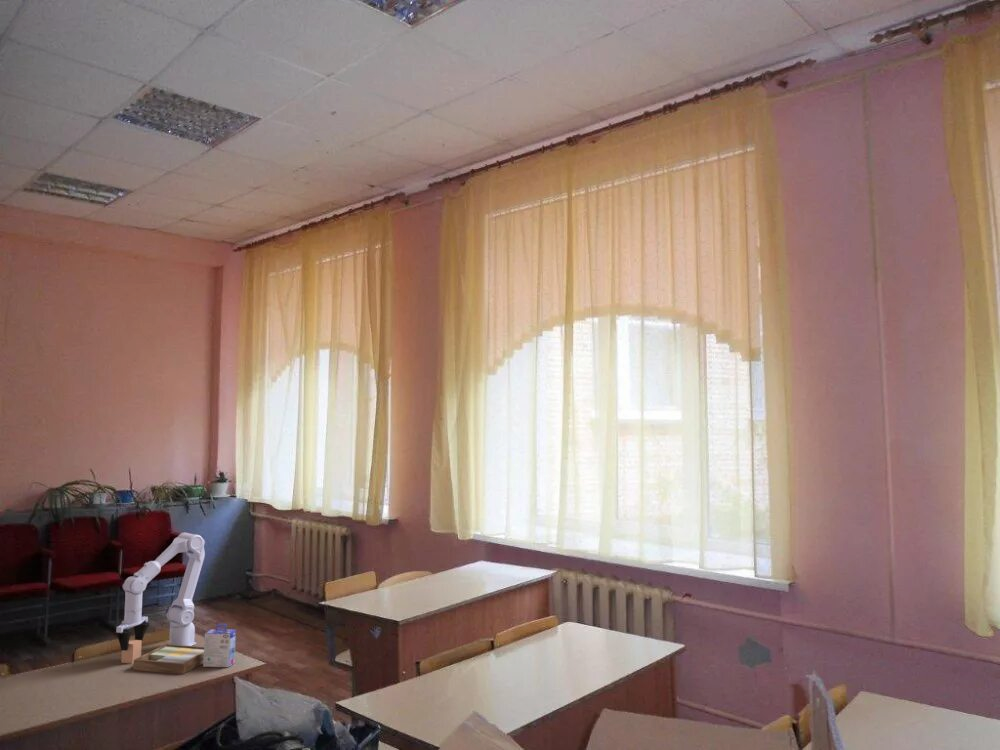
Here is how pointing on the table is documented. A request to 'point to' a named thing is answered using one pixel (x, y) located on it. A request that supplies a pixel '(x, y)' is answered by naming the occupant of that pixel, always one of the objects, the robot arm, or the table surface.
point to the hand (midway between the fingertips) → (131, 646)
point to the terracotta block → (132, 651)
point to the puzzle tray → (168, 665)
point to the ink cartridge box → (219, 647)
